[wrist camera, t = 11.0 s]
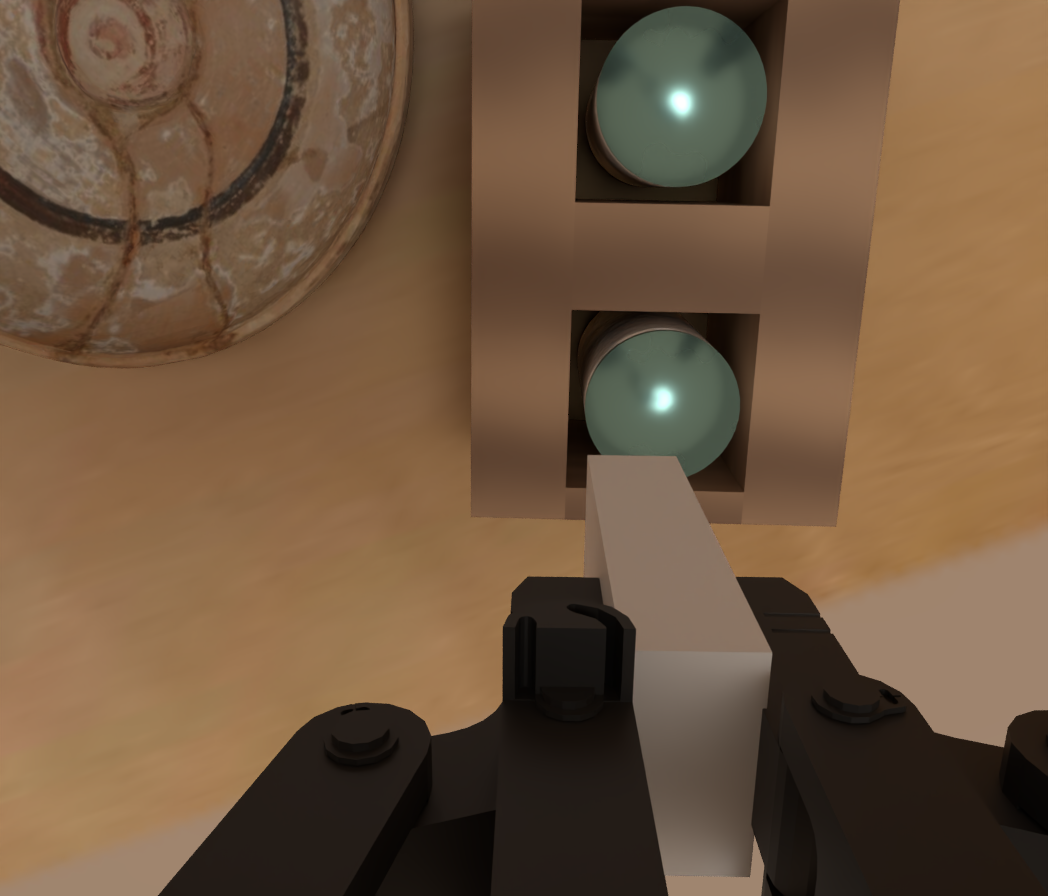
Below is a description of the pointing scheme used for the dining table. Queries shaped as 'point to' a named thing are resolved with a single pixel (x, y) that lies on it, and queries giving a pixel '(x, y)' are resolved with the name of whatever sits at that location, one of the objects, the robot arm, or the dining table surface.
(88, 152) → the ceramic bowl
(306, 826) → the robot arm
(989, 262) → the dining table surface
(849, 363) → the walnut block
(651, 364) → the peg
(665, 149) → the peg
